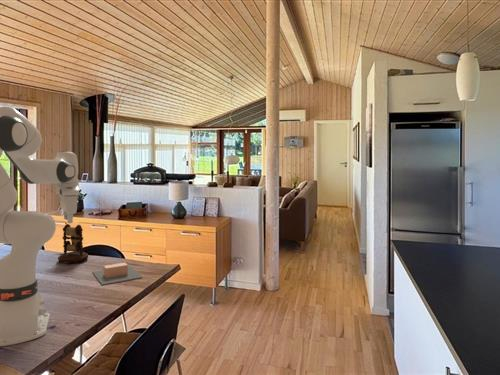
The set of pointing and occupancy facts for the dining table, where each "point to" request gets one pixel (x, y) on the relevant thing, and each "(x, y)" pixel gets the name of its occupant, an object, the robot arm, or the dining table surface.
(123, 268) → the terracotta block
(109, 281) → the flat slab
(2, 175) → the robot arm
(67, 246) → the dark brown ornate stand
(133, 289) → the dining table surface
